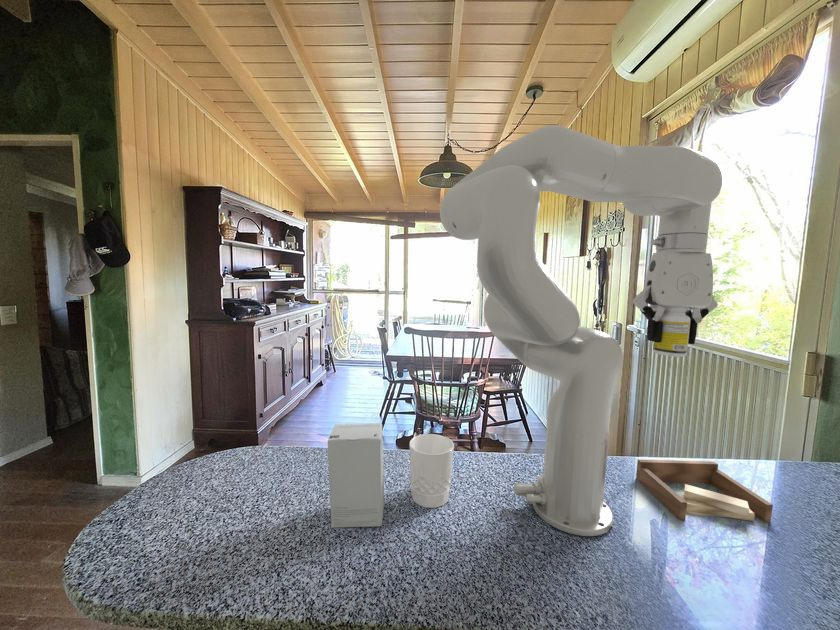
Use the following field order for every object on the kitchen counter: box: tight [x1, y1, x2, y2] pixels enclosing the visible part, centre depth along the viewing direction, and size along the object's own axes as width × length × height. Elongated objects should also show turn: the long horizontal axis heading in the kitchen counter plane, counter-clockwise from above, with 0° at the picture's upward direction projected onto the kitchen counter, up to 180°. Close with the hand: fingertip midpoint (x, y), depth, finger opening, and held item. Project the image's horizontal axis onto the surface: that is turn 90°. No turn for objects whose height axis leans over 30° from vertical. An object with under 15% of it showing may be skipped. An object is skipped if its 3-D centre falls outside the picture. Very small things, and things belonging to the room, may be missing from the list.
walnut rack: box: [635, 459, 774, 524], centre depth 64 cm, size 15×12×4 cm
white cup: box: [408, 433, 455, 509], centre depth 64 cm, size 8×8×10 cm
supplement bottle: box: [652, 306, 690, 358], centre depth 68 cm, size 5×5×10 cm
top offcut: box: [683, 483, 749, 517], centre depth 61 cm, size 8×3×1 cm, turn 53°
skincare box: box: [327, 422, 385, 529], centre depth 57 cm, size 8×6×15 cm
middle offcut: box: [677, 493, 756, 522], centre depth 61 cm, size 10×3×1 cm, turn 76°
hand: (670, 341), depth 68 cm, fingers closed on supplement bottle, 5 cm apart
